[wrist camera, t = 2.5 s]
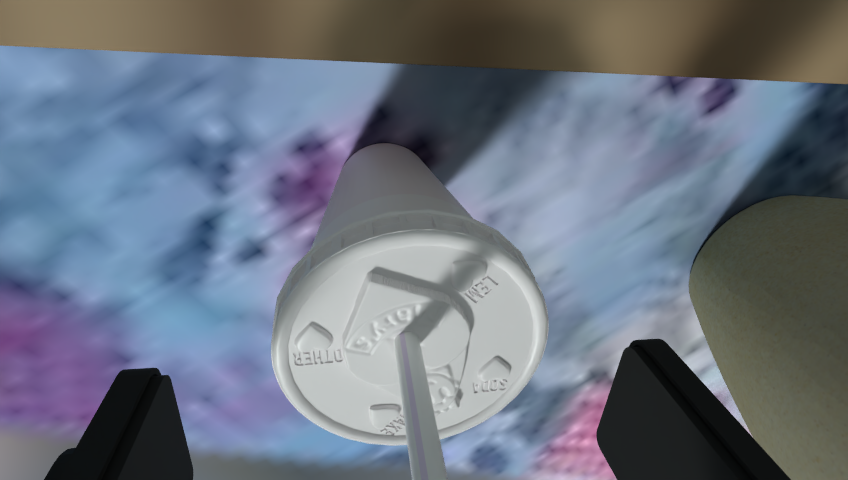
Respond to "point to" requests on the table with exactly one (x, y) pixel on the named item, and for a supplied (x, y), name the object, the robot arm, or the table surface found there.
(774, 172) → the table surface
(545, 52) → the threshold bar
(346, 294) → the smoothie
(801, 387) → the plant pot
